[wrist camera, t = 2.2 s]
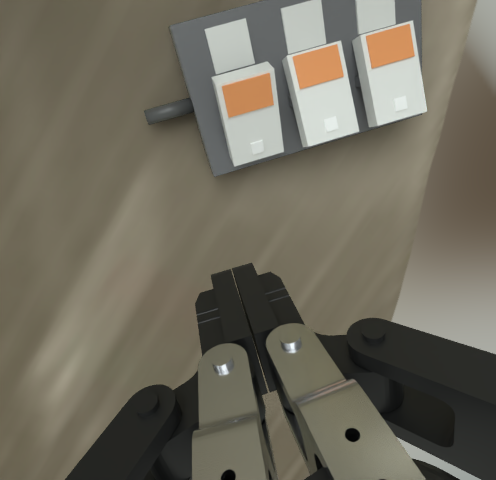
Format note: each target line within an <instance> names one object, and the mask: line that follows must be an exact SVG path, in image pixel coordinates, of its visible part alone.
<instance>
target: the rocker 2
mask: <svg viewBox="0 0 496 480" xmlns="http://www.w3.org/2000/svg"><path fill="white" fill-rule="evenodd" d="M352 44H353V49H354V54H355V59H356V64H357V69H358V74H359V79H360V84H361V90H362V95H363V100H364V105H365V110H366V115H367V120H368V125H369V127H375V126H380V125H383V124H386V123H390V122H393V121H396V120H400V119H403V118H406V117H410V116H413V115H416V114H420V113H423V112H426V111H427V106H426V100H425V94H424V87H423V81H422V75H421V69H420V62H419V56H418V50H417V43H416V37H415V31H414V24H413V20H412V21H408V22H405V23H401V24H398V25H394V26H391V27H387V28H383V29H380V30H376V31H373V32H369V33H366V34H362V35H360V36H358V37H357V38H355V39H354V40H353V41H352Z"/></svg>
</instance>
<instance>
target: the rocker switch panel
mask: <svg viewBox="0 0 496 480" xmlns="http://www.w3.org/2000/svg"><path fill="white" fill-rule="evenodd" d="M412 20H413V24H414V31H415V37H416V43H417V50H418V56H419V62H420V69H421V75H422V33H421V0H264V1H260V2H256V3H252V4H249V5H245V6H241V7H238V8H234V9H230V10H226V11H223V12H219V13H215V14H211V15H208V16H204V17H200V18H196V19H193V20H189V21H185V22H182V23H178V24H174V25H170V26H169V30H170V34H171V37H172V40H173V44H174V47H175V51H176V54H177V57H178V61H179V64H180V68H181V71H182V74H183V78H184V81H185V84H186V88H187V91H188V95H189V98H187V99H183V100H180V101H176V102H172V103H169V104H165V105H162V106H158V107H155V108H151V109H148V110H144V113H145V116H146V119H147V122H148V124H149V125H150V124H154V123H157V122H161V121H164V120H168V119H171V118H175V117H178V116H182V115H185V114H189V113H192V112H194V115H195V118H196V122H197V125H198V128H199V132H200V135H201V139H202V142H203V145H204V149H205V152H206V156H207V159H208V162H209V166H210V168H211V170H212V173H213V175H214V177H215V176H219V175H222V174H225V173H229V172H232V171H235V170H239V169H242V168H245V167H249V166H252V165H255V164H259V163H262V162H265V161H269V160H272V159H275V158H279V157H282V156H285V155H289V154H292V153H295V152H299V151H302V150H305V149H309V148H312V147H315V146H319V145H322V144H325V143H329V142H332V141H335V140H339V139H342V138H345V137H349V136H352V135H355V134H359V133H362V132H365V131H369V130H372V129H375V128H379V127H382V126H385V125H389V124H392V123H395V122H399V121H402V120H405V119H409V118H412V117H415V116H419V115H422V113H420V114H416V115H413V116H410V117H406V118H403V119H400V120H396V121H393V122H390V123H386V124H383V125H380V126H375V127H369V125H368V120H367V115H366V110H365V105H364V100H363V95H362V90H361V84H360V79H359V74H358V69H357V64H356V59H355V54H354V49H353V44H352V41H353V40H354V39H355V38H357V37H358V36H360V35H362V34H366V33H369V32H373V31H376V30H380V29H383V28H387V27H391V26H394V25H398V24H401V23H405V22H408V21H412ZM337 41H341V44H342V49H343V54H344V58H345V63H346V68H347V73H348V78H349V83H350V88H351V93H352V98H353V103H354V108H355V113H356V118H357V122H358V127H359V132H356V133H353V134H350V135H346V136H343V137H340V138H336V139H333V140H330V141H326V142H323V143H320V144H316V145H313V146H310V147H303V146H302V142H301V138H300V133H299V129H298V125H297V121H296V117H295V113H294V109H293V104H292V100H291V96H290V92H289V88H288V84H287V80H286V75H285V71H284V67H283V63H282V60H283V59H284V58H285V57H286V56H287V55H291V54H294V53H298V52H301V51H305V50H308V49H312V48H316V47H319V46H323V45H326V44H330V43H333V42H337ZM267 61H268V62H269V63H270V65H271V66H272V67H273V68H274V72H275V80H276V89H277V97H278V105H279V114H280V122H281V131H282V139H283V147H284V152H282V153H278V154H275V155H272V156H268V157H265V158H262V159H258V160H255V161H252V162H248V163H245V164H242V165H238V166H235V167H234V165H233V162H232V160H231V158H230V154H229V150H228V146H227V142H226V137H225V133H224V129H223V125H222V120H221V116H220V112H219V108H218V103H217V99H216V95H215V91H214V86H213V82H212V78H211V77H214V76H217V75H221V74H224V73H228V72H231V71H235V70H239V69H242V68H246V67H249V66H253V65H256V64H260V63H264V62H267Z"/></svg>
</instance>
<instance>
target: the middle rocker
mask: <svg viewBox="0 0 496 480" xmlns="http://www.w3.org/2000/svg"><path fill="white" fill-rule="evenodd" d="M282 63H283V67H284V71H285V75H286V80H287V84H288V88H289V92H290V96H291V100H292V104H293V109H294V113H295V117H296V121H297V125H298V129H299V133H300V138H301V142H302V146H303V147H310V146H313V145H316V144H320V143H323V142H326V141H330V140H333V139H336V138H340V137H343V136H346V135H350V134H353V133H356V132H359V127H358V122H357V118H356V113H355V108H354V103H353V98H352V93H351V88H350V83H349V78H348V73H347V68H346V63H345V58H344V54H343V49H342V44H341V41H337V42H333V43H330V44H326V45H323V46H319V47H316V48H312V49H308V50H305V51H301V52H298V53H294V54H291V55H287V56H286V57H285V58H284V59H283V60H282Z"/></svg>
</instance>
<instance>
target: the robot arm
mask: <svg viewBox="0 0 496 480" xmlns="http://www.w3.org/2000/svg"><path fill="white" fill-rule="evenodd" d="M232 270H233V274H234V277H235V281H236V284H237V288H238V291H239V294H238V291H237V288H236V285H235V282H234V278H233V275H232V272H231V269H229V270H226V271H222V272H219V273H216V274H212V275H211V279H212V283H213V288H214V289H212V290H209V291H205V292H202V293H200V294H199V296H198V298H197V301H196V303H195V306H196V314H197V321H198V328H199V335H200V343H201V350H202V358H201V359H200V361H199V364H198V371H197V372H196V374H195V375H194V376H193V377H192V378H191V379H190V380H188V381H187V382H185V383H184V384H182V385H181V386H179V387H177V388H176V389H174V390H173V391H172V389H171V388H169V387H168V386H165V385H152V386H148V387H146V388H143V389H142V390H140V391H138V392H137V393H136V394H134V395H133V396H132V397H131V398H130V399H129V400H128V402H127V403H126V404H125V405H124V407H123V408H122V409H121V410H120V412H119V413H118V414H117V415H116V417H115V418H114V419H113V420H112V422H111V423H110V424H109V425H108V427H107V428H106V429H105V430H104V432H103V433H102V434H101V435H100V437H99V438H98V439H97V440H96V442H95V443H94V444H93V445H92V447H91V448H90V449H89V450H88V452H87V453H86V454H85V455H84V457H83V458H82V459H81V460H80V461H79V463H78V464H77V465H76V466H75V468H74V469H73V470H72V471H71V473H70V474H69V475H68V476H67V478H66V479H65V480H278V476H277V471H276V466H275V460H274V455H273V450H272V445H271V440H270V435H269V430H268V425H267V420H266V417H265V405H264V401H263V398H262V395H263V394H266V393H268V392H267V389H266V385H265V381H264V378H263V374H262V371H261V367H260V363H261V366H262V369H263V372H264V375H265V379H266V382H267V385H268V388H269V391H270V392H272V391H275V390H277V393H278V395H279V398H280V402H281V405H282V409H283V413H284V415H285V418H286V420H287V422H288V425H289V427H290V429H291V432H292V434H293V436H294V438H295V441H296V443H297V445H298V448H299V450H300V452H301V454H302V457H303V459H304V461H305V464H306V466H307V468H308V471H309V473H310V476H309V477H307V478H306V479H304V480H460V479H458V478H456V477H454V476H452V475H450V474H449V473H447V472H445V471H443V470H441V469H439V468H437V467H435V466H433V465H430V464H428V463H426V462H423V461H419V460H416V459H412V458H411V457H410V456H409V455H408V453H407V452H406V450H405V449H404V448H403V446H402V445H401V443H400V442H399V441H398V439H397V438H396V437H398V438H400V439H402V440H404V441H406V442H408V443H410V444H412V445H414V446H416V447H418V448H420V449H422V450H424V451H426V452H428V453H430V454H432V455H434V456H436V457H438V458H440V459H442V460H444V461H446V462H448V463H450V464H452V465H454V466H456V467H458V468H460V469H462V470H464V471H466V472H467V473H469V474H471V475H474V476H475V477H477V478H479V479H481V480H496V354H493V353H490V352H486V351H483V350H480V349H477V348H474V347H470V346H467V345H464V344H460V343H457V342H454V341H451V340H448V339H444V338H441V337H438V336H435V335H432V334H429V333H425V332H422V331H419V330H416V329H412V328H409V327H406V326H403V325H400V324H396V323H393V322H390V321H387V320H384V319H379V318H367V319H362V320H359V321H357V322H355V323H354V324H353V325H351V327H350V328H349V329H348V331H347V335H335V336H327V335H321V334H317V333H315V332H313V331H312V329H310V328H309V327H308V326H306V325H305V324H304V322H303V321H302V319H301V317H300V315H299V313H298V311H297V309H296V307H295V305H294V303H293V301H292V299H291V298H290V296H289V294H288V292H287V290H286V289H285V286H284V284H283V282H282V280H281V278H279V277H278V276H276V275H275V274H273V273H271V272H268V273H265V274H262V275H257V273H256V271H255V268H254V266H253V264H252V263H249V264H246V265H242V266H239V267H235V268H232ZM239 295H240V297H239ZM240 299H241V300H240ZM241 302H242V304H241ZM242 306H243V307H242ZM243 309H244V310H243ZM244 312H245V313H244ZM249 328H250V329H249ZM253 341H254V342H253ZM254 344H255V346H254ZM255 347H256V349H255ZM256 350H257V353H258V356H257V353H256ZM258 357H259V360H260V363H259V360H258Z"/></svg>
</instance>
